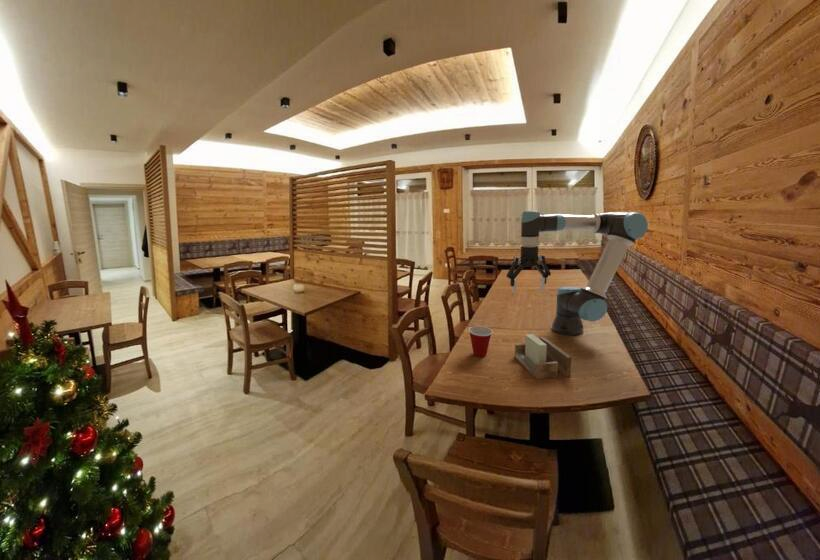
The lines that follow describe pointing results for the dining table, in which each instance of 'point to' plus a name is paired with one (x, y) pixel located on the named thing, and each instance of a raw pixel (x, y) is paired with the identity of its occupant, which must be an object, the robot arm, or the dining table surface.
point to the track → (548, 369)
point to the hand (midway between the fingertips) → (528, 291)
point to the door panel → (535, 349)
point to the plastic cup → (480, 339)
